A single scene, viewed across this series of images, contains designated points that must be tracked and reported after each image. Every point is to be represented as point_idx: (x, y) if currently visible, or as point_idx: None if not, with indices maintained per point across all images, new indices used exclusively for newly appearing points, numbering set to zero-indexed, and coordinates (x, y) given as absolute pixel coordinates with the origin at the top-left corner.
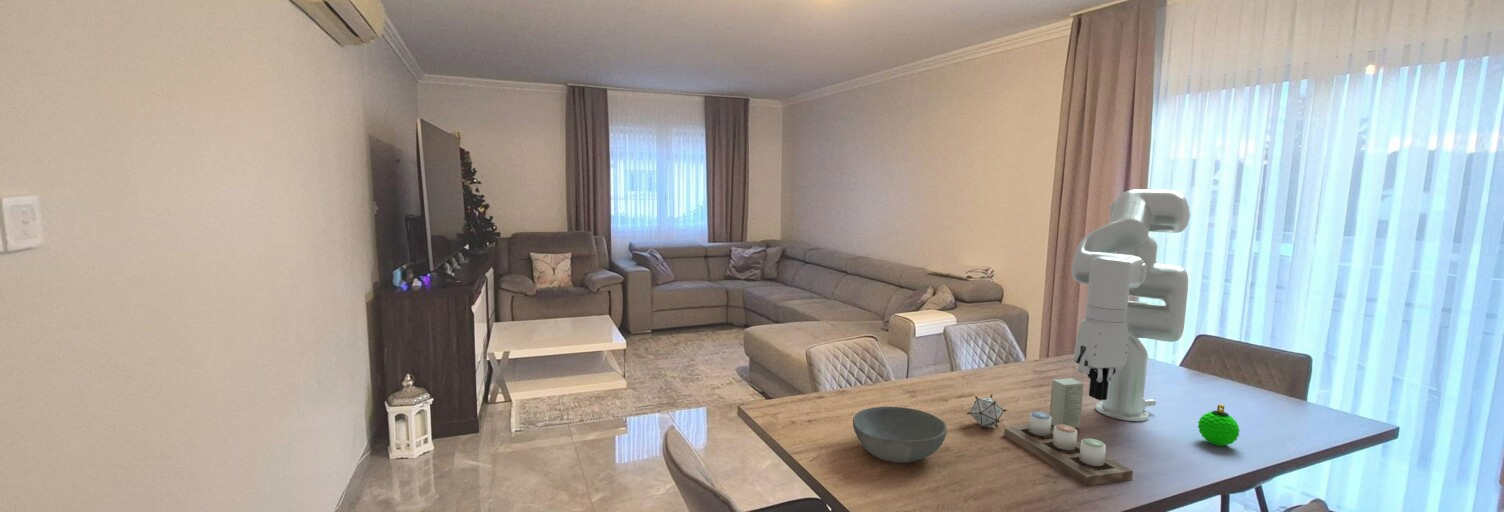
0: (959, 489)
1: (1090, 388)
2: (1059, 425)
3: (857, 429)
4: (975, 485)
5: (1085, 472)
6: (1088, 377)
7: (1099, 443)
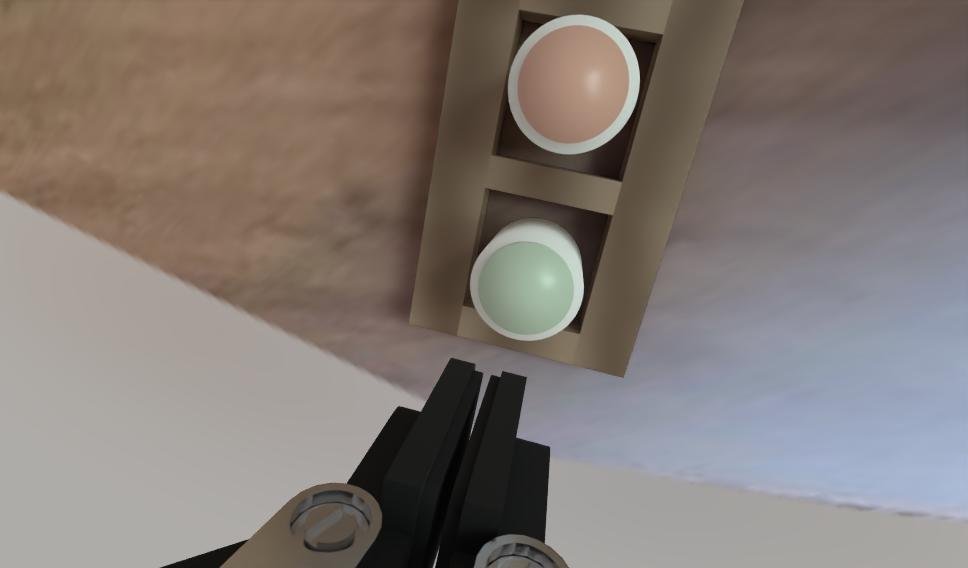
0: (19, 141)
1: (381, 435)
2: (569, 41)
3: None
4: (78, 142)
5: (433, 300)
6: (302, 498)
7: (538, 313)
